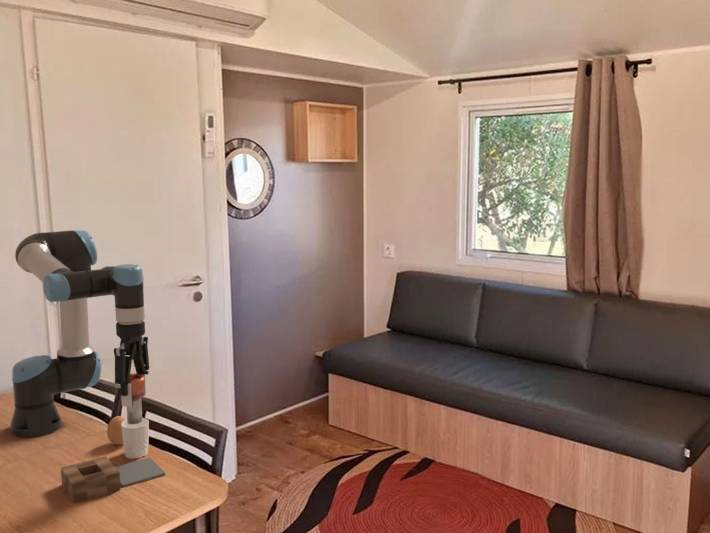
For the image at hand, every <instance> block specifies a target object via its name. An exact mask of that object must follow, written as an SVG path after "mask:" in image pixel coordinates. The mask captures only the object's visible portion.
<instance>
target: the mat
mask: <svg viewBox="0 0 710 533" xmlns="http://www.w3.org/2000/svg"><path fill="white" fill-rule="evenodd" d="M115 468H116V469H117V470H118V471H119V472H120V486H121V487H122V488H125V487H128V486H129V487H130V486H132V485H135V484H138V483H139V484H140V483H142V482H147V481H149V480H152V479H156V478H160V477H163V476H166V472H165V471H164V470H163V469H162V468H161V467H160V466H159V464H157V463H156V462H155V461H154V460H153V458H151V457H147V458H143V459H139V460H136V461H132V462H128V463H125V464H120V465H117V466H115Z"/></svg>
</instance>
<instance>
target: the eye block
mask: <svg viewBox="0 0 710 533" xmlns="http://www.w3.org/2000/svg"><path fill="white" fill-rule="evenodd" d="M115 467H116V466H115V465H114V464H113V462H111V461H110V460H109V458H108V457H107V455H105V456H102V457H97V458H94V459H89V460H86V461H82V462H78V463H73V464H71V465H70V464H69V465H67V466H66V465H65V466H63V467H60V473H61V474H60V475H61V485H62V487H63V489H64V490H65V492H66V493H67V494H68V496H69V498H70V499H71V501H72V503H73V504H75V503H79V502H82V501H86V500H90V499H93V498H97V497H101V496H104V495H106V494H110V493H113V492H114V493H115V492H118V491H120V490H121V484H120V472H119V471H118V470H117V469H116V468H115Z"/></svg>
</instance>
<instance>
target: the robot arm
mask: <svg viewBox="0 0 710 533" xmlns="http://www.w3.org/2000/svg"><path fill="white" fill-rule="evenodd" d="M14 256H15V258H14V259H15V261H16V263H17V265H18V266H19V267H20V268H21V269H22V270H23V271H24V272H26V273H29V274H32V275H34V276H35V277H36V278H37V279H38V280H39V281H41V283H42V287H43V295H44V296H45V299H46V301H48V302H50V303H53V302H54V303H55V302H59V318H60V319H59V321H60V341H61V342H60V343H61V344H60V345H61V347H60V348H59V349H58V350H56V357H55V358H52V356H50V355H47V354H43V355H33V356H29V357H26V358H24V359H22V360H21V359H20V360H19V361H18V362H17V363H15V364H14V365H13V366H12V375H11V381H12V386H13V387H12V389H13V399H14V411H13V414H12V417H11V422H10V424H9V425H10V426H9V427H10V428H9V429H10V430H9V431H10V434H11V435H13V436H14V437H19V438H34V437H35V438H36V437H41V436H44V435H47V434H50V433H53V432H55V431H57V430H59V429H60V427H62V418H61V415H60V412H59V411H58V408H57V406H56V404H55V395H57V394H63V393H66V392H67V393H68V392H73V391H77V390H84V389H86V388H89V387H93V386H96V384H98V382H99V381H100V378H101V374H102V362H101V357H100V354H99V353H98V352H97V351H95V348H94V347H93V346H91V345H90V337H89V336H90V332H89V311H88V307H89V306H88V298H89V299H90V298H96V297H97V298H99V297H106V296H113V297H114V308H115V310H114V311H115V321H116V323H115V333H116V334H115V335H116V337H118V338H119V339H120V341H119V342H120V343H119V347H117V348H116V347H115V348H113V356H114V383H115V384H116V385H119V386H120V396H121V401H120V402H121V407H126V408H127V407H131V406H132V393H131V383H129V379H130V374H131V370H132V362H133V366H134V369H135V372H136V373H135V374H143V375H145V376H146V375H149V373H150V372H149V370H150V360H149V348H148V342H149V337H148V336H144V335H145V334H146V322H145V321H144V320H145V319H146V318H145V317H146V316H145V302H144V301H145V300H144V298H145V296H144V274H143V268H142V266H140V265H138V264H134V263H133V264H132V263H130V264H129V263H128V264H127V263H126V264H125V263H124V264H120V265H119V264H118V265H114V266H111V265H110V266H108V265H106V266H103V267H101V268H99V269H92V266H94V265H96V264H97V262H98V252H97V246H96V243H95V240H94V239H93V236H92V235H91V234H90V233H89V232H88V231H86V230H75V229H74V230H61V231H48V232H37V233H33V234H30V235H29V236H27V237H25V238H24V239H23V240H21V242H20V243H19V244H18V245H17V247H16V249H15V255H14ZM146 396H147V395H146V394H145V395H144V396H142V397H141V399H145V398H146Z"/></svg>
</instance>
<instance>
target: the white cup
mask: <svg viewBox="0 0 710 533" xmlns="http://www.w3.org/2000/svg"><path fill="white" fill-rule="evenodd" d="M149 425H150V421H149V419H147V418H145V417H142V422H141V423H139V424H128V423H127V419H125V421H124V422H122V424H121V428H122V438H123V444H122V445H123V450H124V457H125V458H127V459H134V458H136V459H141V458H144V457H145V456H147V455H148V453H149V439H150V432H149V431H150V430H149V429H150V426H149ZM143 456H144V457H143Z"/></svg>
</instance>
